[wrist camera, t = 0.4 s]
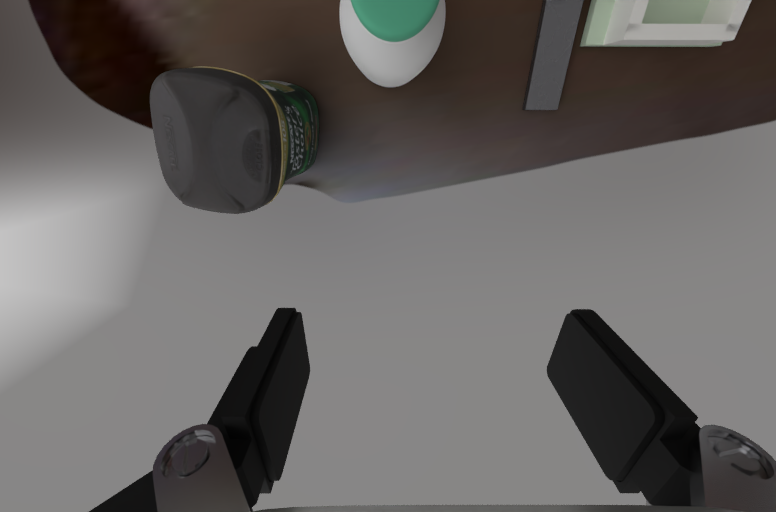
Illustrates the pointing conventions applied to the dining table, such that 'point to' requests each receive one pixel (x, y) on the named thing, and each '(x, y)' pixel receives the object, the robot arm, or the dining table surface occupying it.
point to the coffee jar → (230, 136)
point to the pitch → (644, 19)
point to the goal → (674, 25)
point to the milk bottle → (392, 37)
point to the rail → (551, 53)
